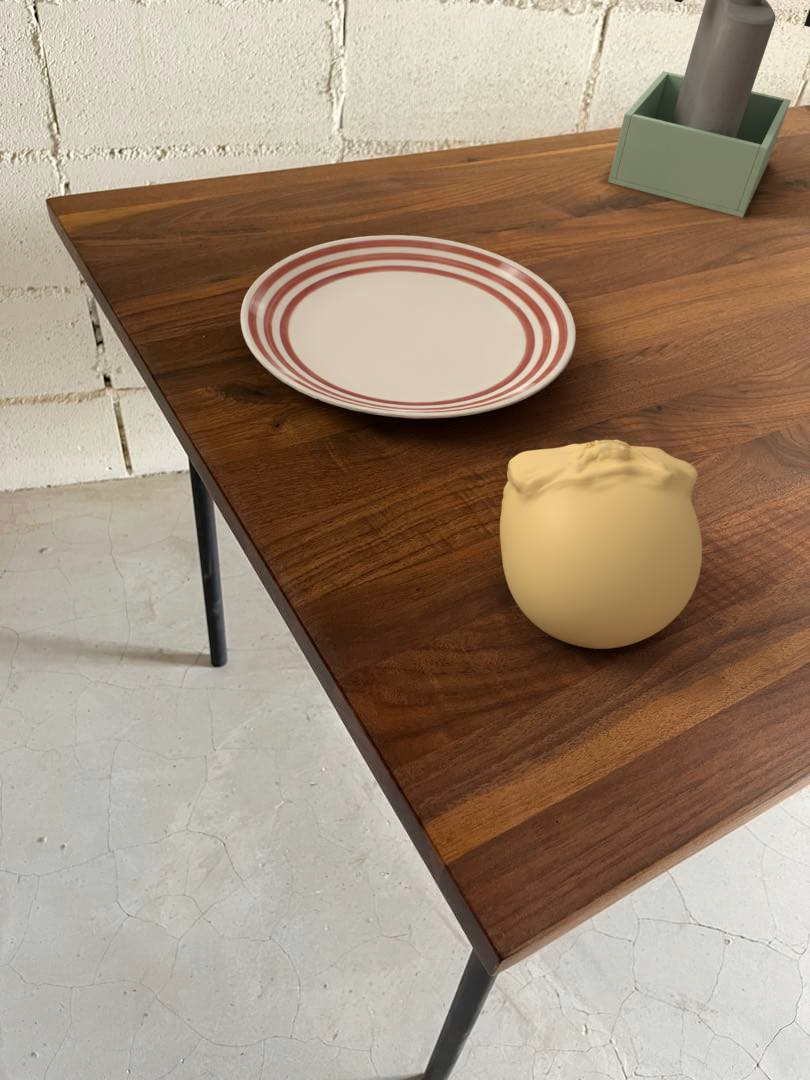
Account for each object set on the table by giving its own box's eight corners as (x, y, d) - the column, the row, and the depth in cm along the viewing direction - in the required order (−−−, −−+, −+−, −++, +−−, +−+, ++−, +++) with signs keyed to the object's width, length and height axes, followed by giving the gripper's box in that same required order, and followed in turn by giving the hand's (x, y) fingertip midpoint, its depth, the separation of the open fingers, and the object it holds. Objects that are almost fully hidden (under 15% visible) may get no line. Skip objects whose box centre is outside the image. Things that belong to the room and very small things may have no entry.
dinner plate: (312, 481, 61) (313, 443, 59) (201, 289, 78) (198, 254, 76) (632, 405, 71) (643, 370, 69) (472, 248, 88) (477, 216, 86)
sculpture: (635, 527, 61) (683, 399, 53) (700, 667, 53) (767, 539, 45) (473, 534, 59) (499, 402, 52) (514, 680, 51) (551, 549, 43)
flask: (727, 197, 100) (797, -4, 86) (676, 191, 100) (737, -11, 86) (707, 146, 111) (766, -39, 97) (661, 141, 111) (713, -46, 97)
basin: (766, 165, 110) (791, 99, 105) (741, 220, 98) (767, 148, 93) (645, 135, 114) (662, 70, 109) (607, 184, 102) (624, 113, 97)
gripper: (677, -272, 80) (620, -4, 95) (973, -240, 73) (862, 43, 88) (694, -272, 85) (638, -17, 100) (973, -242, 78) (868, 25, 93)
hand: (743, 11), depth 94 cm, fingers open, 13 cm apart
